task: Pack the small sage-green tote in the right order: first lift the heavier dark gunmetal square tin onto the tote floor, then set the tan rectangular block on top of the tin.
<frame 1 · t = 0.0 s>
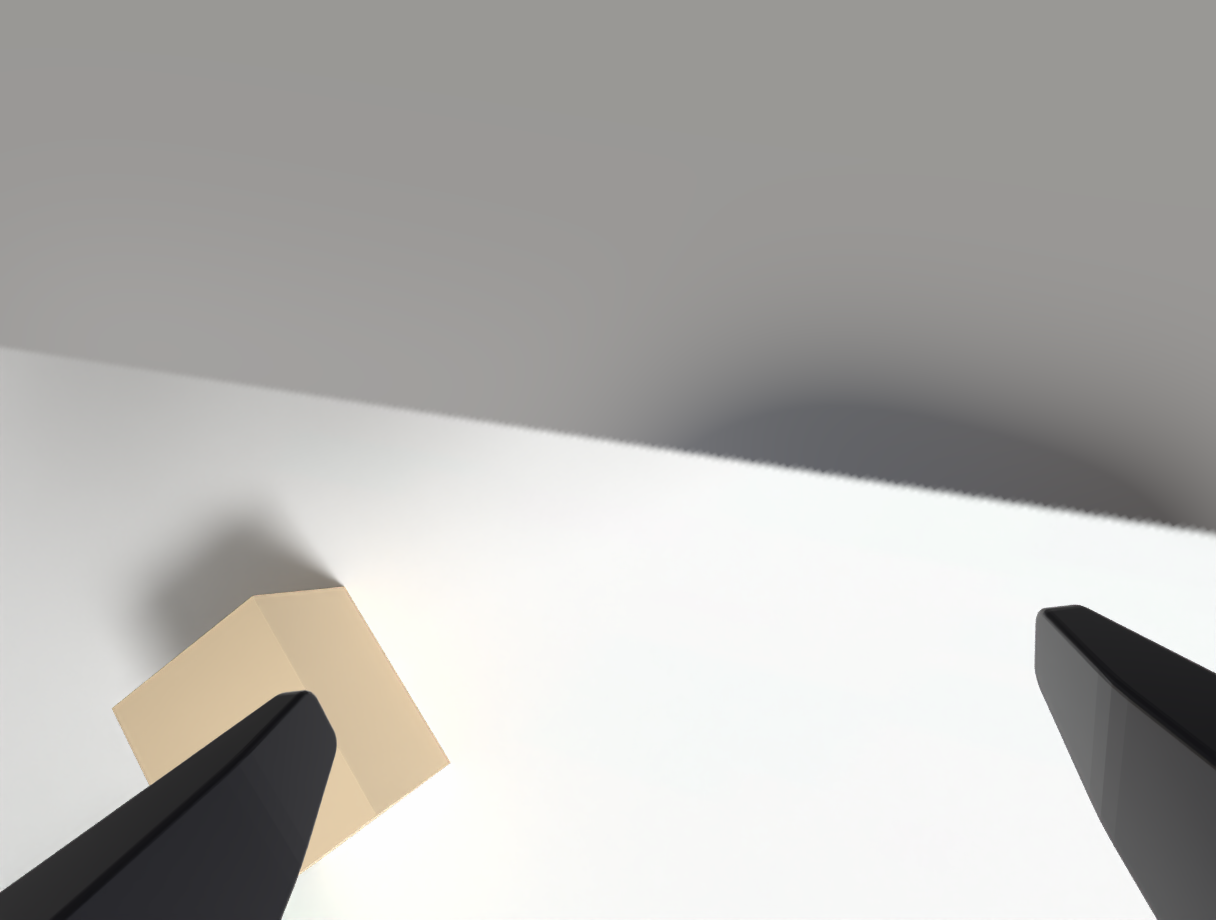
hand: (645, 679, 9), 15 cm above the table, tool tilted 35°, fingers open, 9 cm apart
tan rectangular block: (336, 718, 26), on the table
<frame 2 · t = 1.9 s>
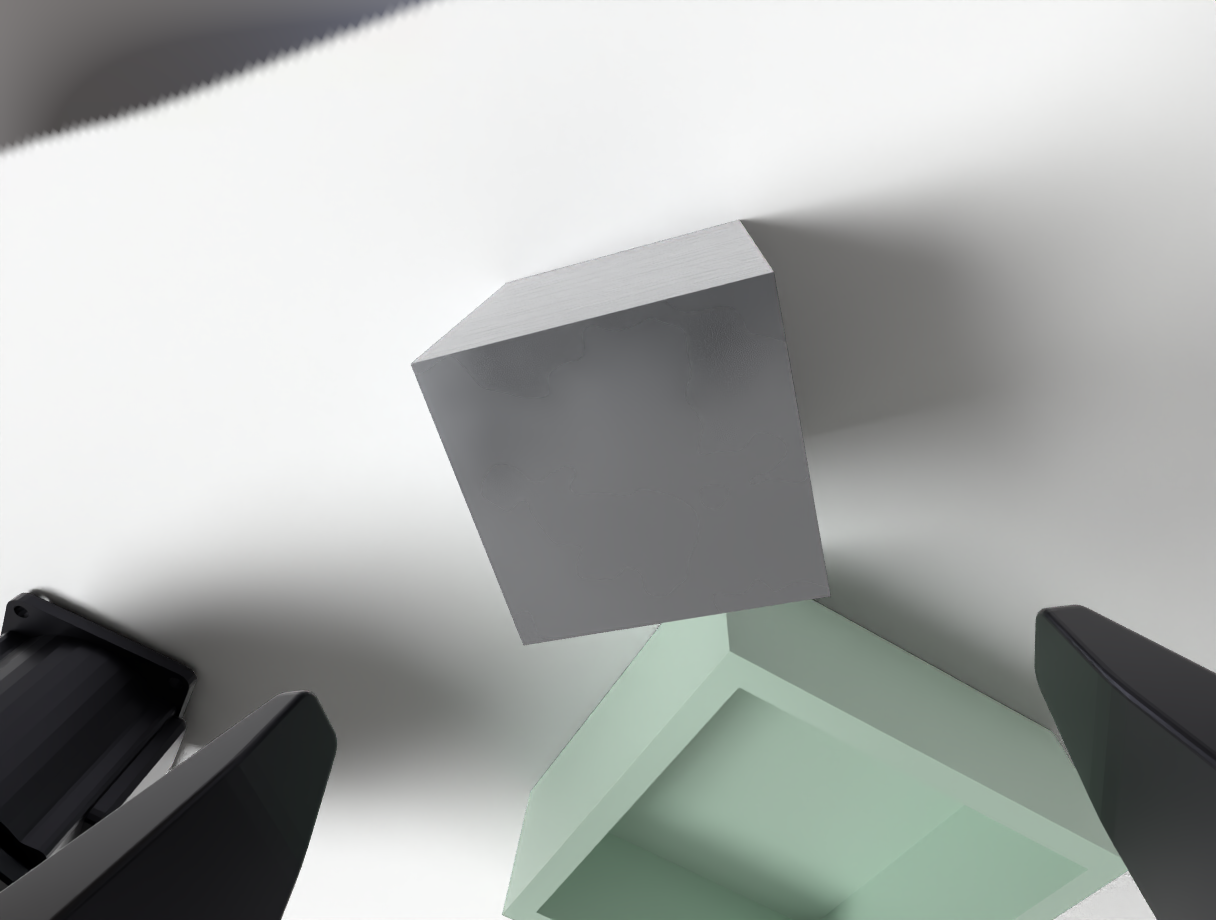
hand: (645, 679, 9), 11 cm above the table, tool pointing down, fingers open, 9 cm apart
tote: (772, 763, 24), on the table
tin: (648, 365, 18), on the table
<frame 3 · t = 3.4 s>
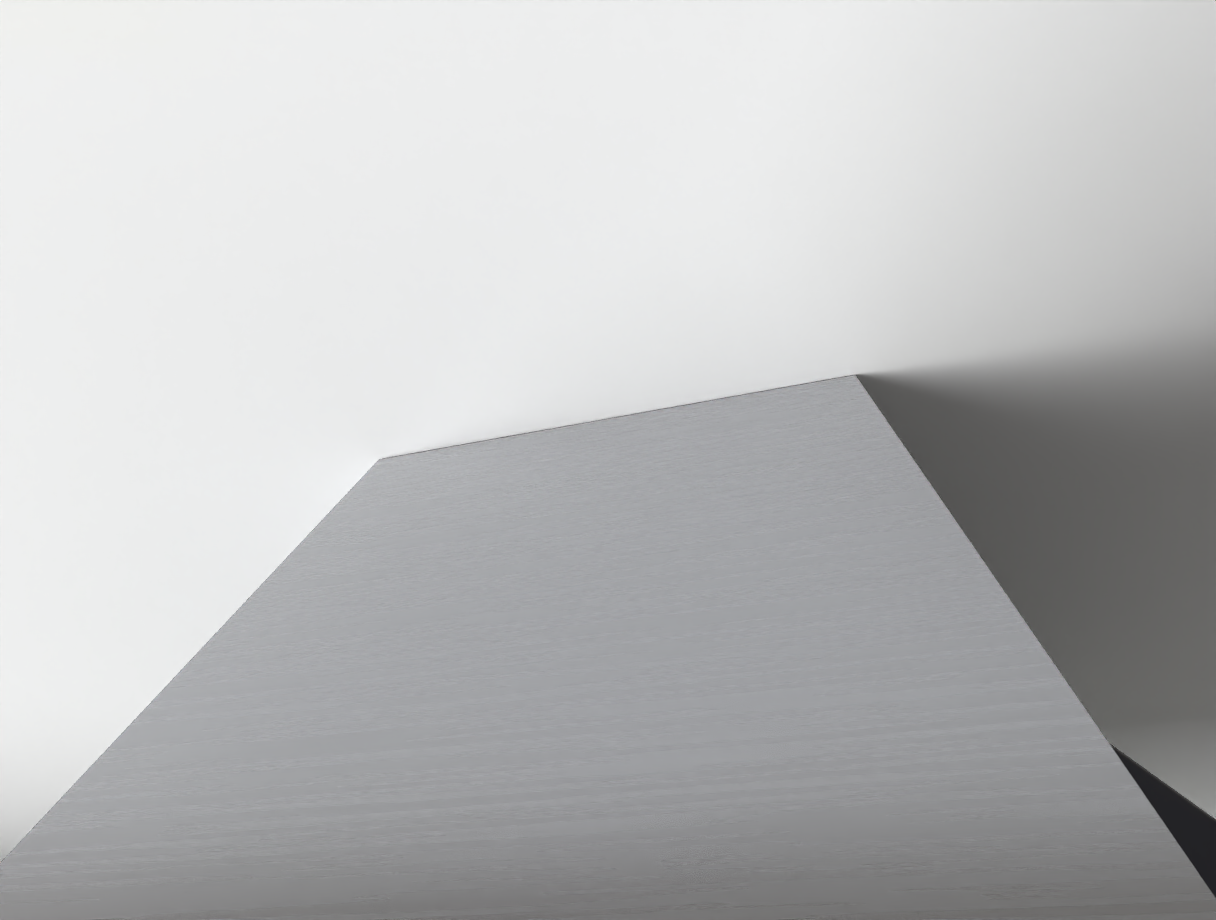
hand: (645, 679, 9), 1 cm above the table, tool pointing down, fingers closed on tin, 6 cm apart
tin: (650, 616, 10), on the table, touching gripper
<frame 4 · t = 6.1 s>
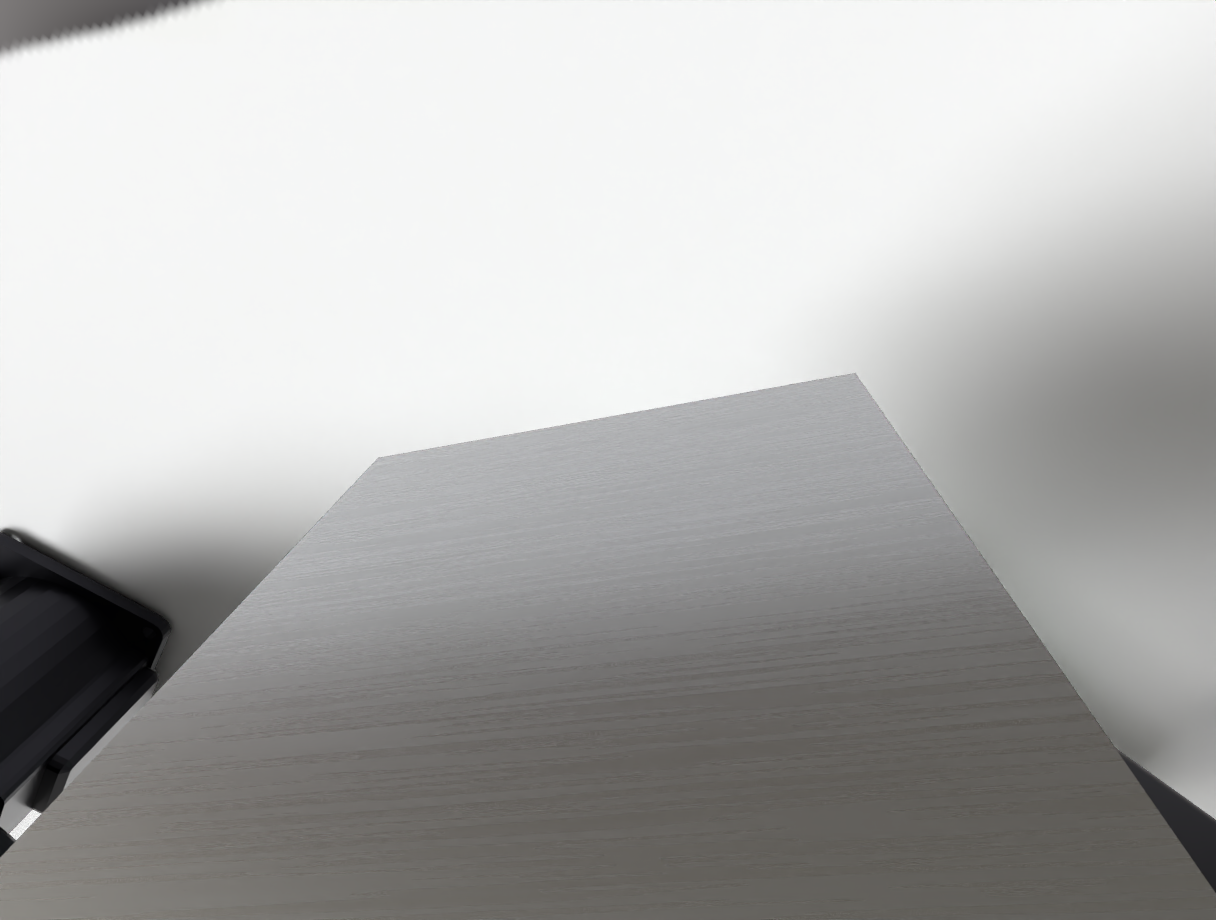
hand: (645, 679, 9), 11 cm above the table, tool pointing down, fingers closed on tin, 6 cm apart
tin: (650, 615, 10), point 10 cm above the table, touching gripper
when the fingers open (3 cm above the table, at t = 8.9 s): tin drops 1 cm, resting on tote.
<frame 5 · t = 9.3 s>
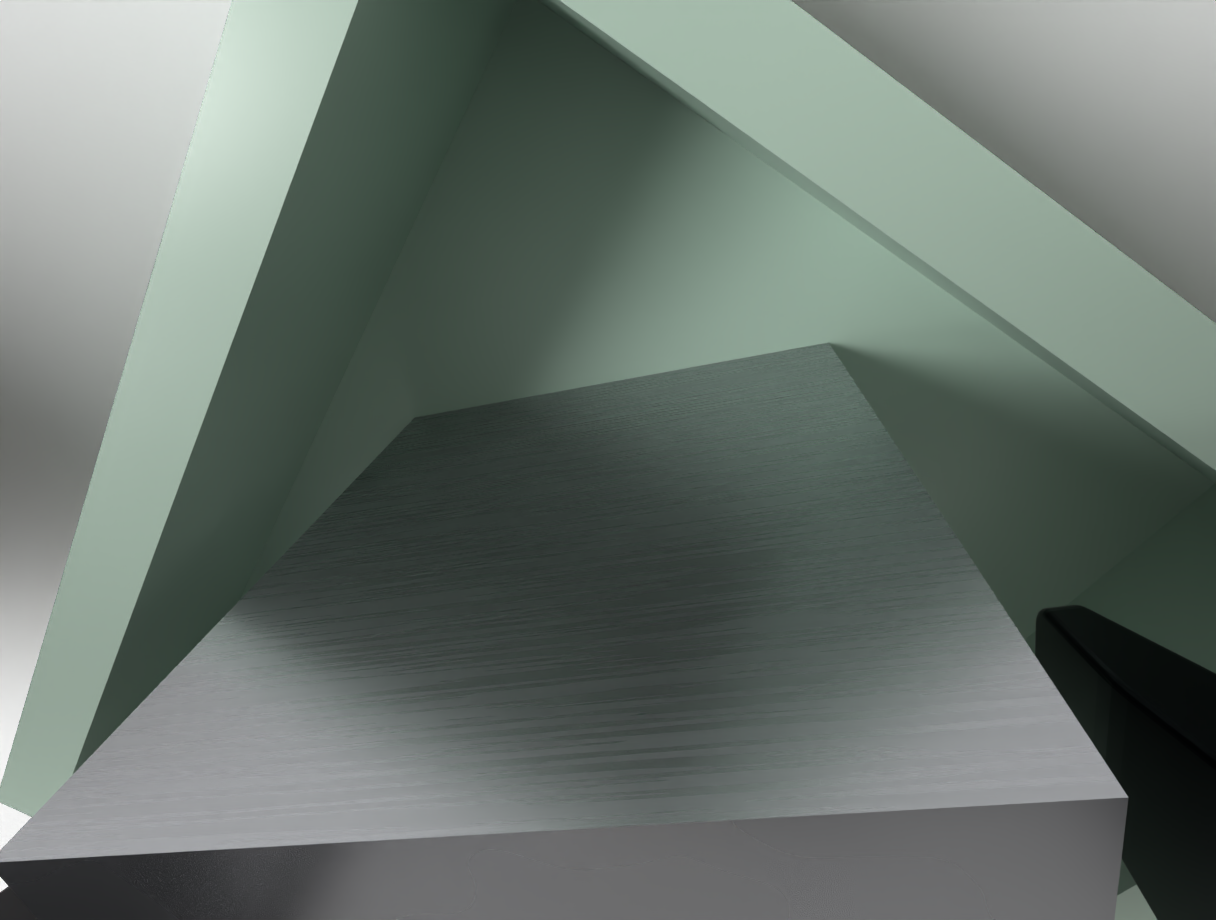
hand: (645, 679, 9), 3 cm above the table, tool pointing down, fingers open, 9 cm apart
tote: (659, 533, 12), on the table
tin: (650, 559, 11), point 1 cm above the table, touching tote
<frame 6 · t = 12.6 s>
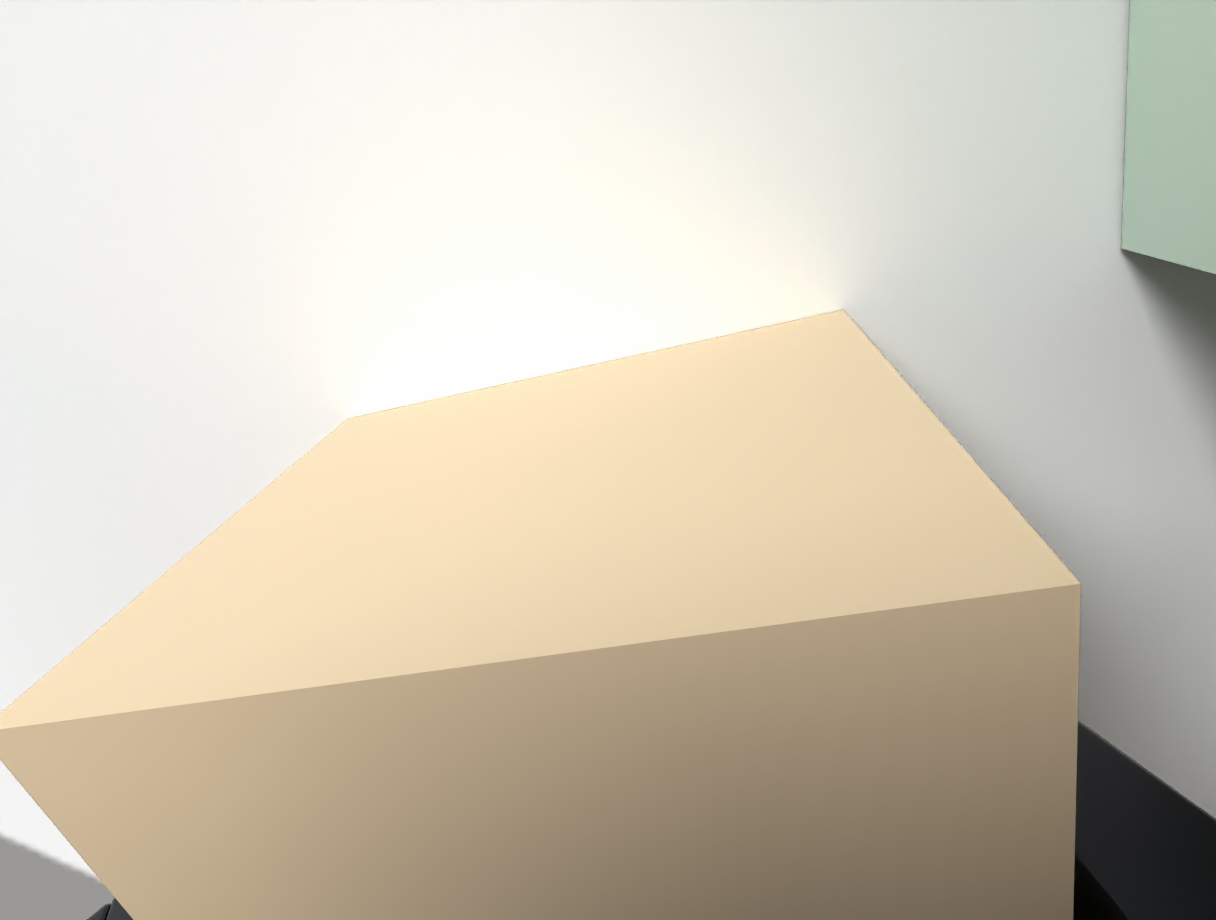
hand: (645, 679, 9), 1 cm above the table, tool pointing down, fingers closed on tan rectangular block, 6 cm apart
tan rectangular block: (649, 624, 10), on the table, touching gripper
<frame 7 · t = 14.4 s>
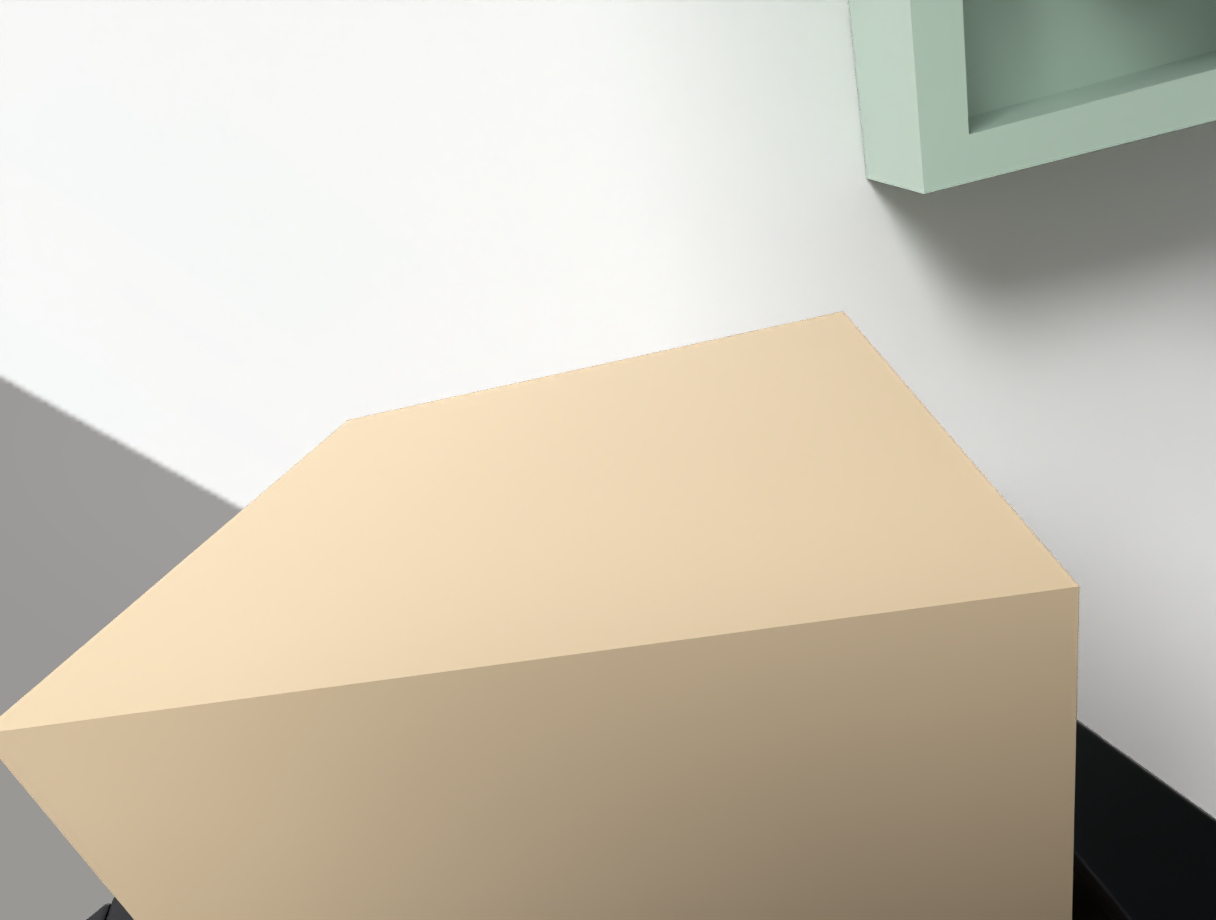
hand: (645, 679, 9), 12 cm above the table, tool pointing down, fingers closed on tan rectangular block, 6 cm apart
tan rectangular block: (650, 625, 10), point 11 cm above the table, touching gripper
when the fingers open (10 cm above the table, at t = 16.5 s): tan rectangular block drops 1 cm, resting on tin.
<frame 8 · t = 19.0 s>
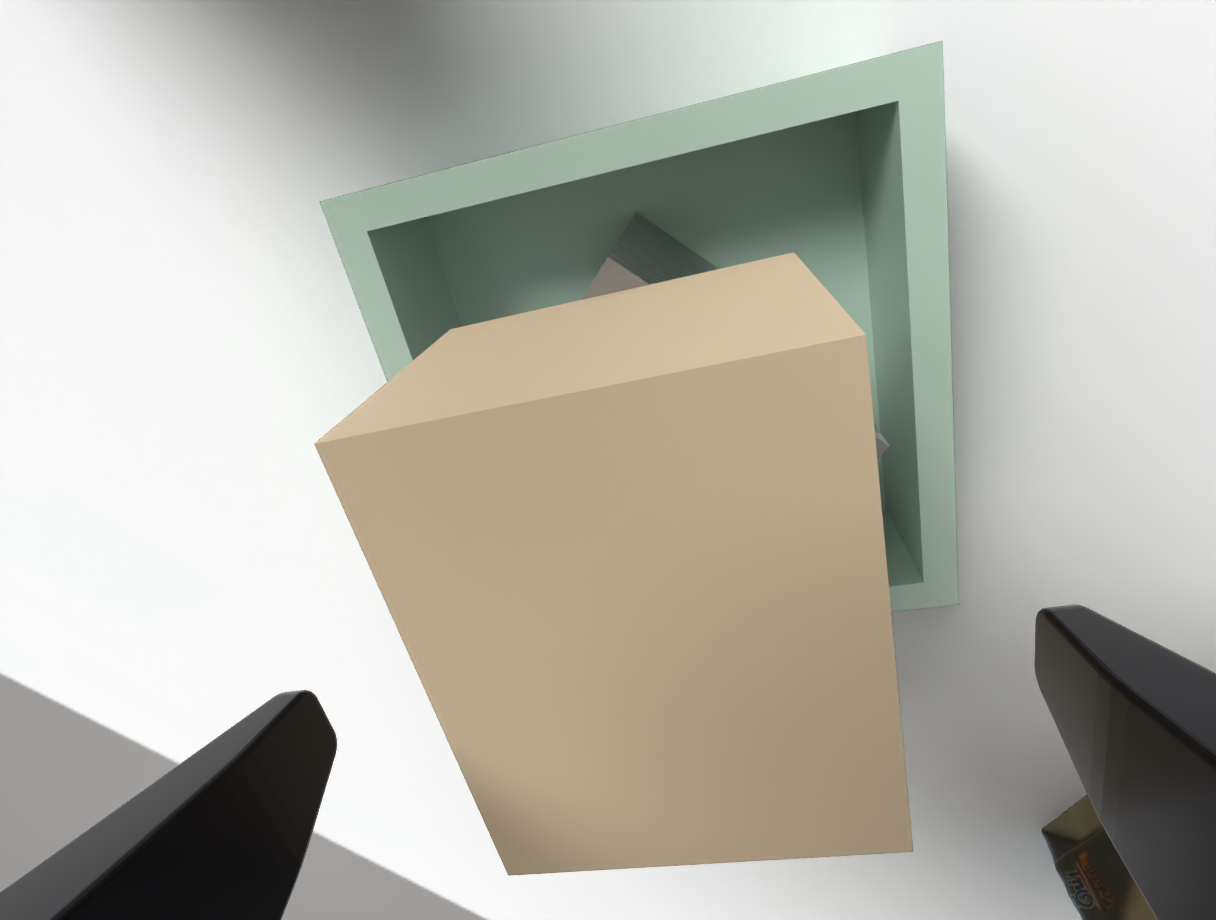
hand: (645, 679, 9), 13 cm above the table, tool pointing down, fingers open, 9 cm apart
tote: (669, 361, 20), on the table
tin: (666, 367, 19), point 1 cm above the table, touching tan rectangular block, tote
tan rectangular block: (659, 485, 13), point 8 cm above the table, touching tin
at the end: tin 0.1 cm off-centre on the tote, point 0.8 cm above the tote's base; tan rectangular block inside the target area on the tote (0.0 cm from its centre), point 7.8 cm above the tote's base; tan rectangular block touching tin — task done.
